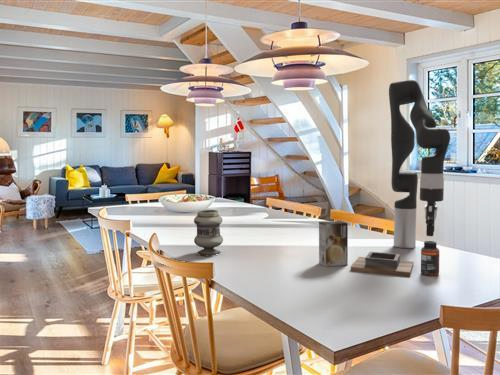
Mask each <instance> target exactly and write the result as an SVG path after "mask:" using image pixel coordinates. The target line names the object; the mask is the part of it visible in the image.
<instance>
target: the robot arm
mask: <svg viewBox="0 0 500 375" xmlns="http://www.w3.org/2000/svg"><path fill="white" fill-rule="evenodd" d="M388 98H389V100H388V101H389V109H390V144H391V145H390V146H391V158H392V159H391V164H392V165H391V189H392V191H393V192H396V193H409V194H408V195H407V196H406V197H404V198H400V199H397V200H395V202H394V206H393V207H394V215H393V218H394V220H393V221H394V222H393V247H394V248H401V249H414V248H416V245H417V244H416V240H417V209H418V208H417V206H418V205H417V199H418V197H417V196H418V184H419V200H420V201H422V202H426V203H427V204H426V205H425V206H424V218H425V225H426V232H425V235H426V236H427V237H434V232H435V224H436V223H435V221H436V220H437V213H438V206H437V202H442V201H444V188H445V183H444V182H445V179H444V162H445V158H446V155H447V151H448V147H449V146H450V142H451V134H450V131H449V130H448V129H447V128H445V127H437V122H436V119H435V118H434V117H433V115H432V114H431V112H430V110H429V108H428V106H427V103H426V100H425V97H424V94H423V92H422V89H421V86H420V84H419V82H418V81H417V80H416V79H414V78H410V79H405V80H398V81H394V82H392V83H390V84H389V87H388ZM413 103H414V104H413ZM409 104H413V106H412V108H411V110H410V113H409V119H410V122H411V124H412V125H411V124H410V123H409V122H408V121H407V120H406V119H405V117H404V116H403V114H402V112H401V108H400V106H404V105H409ZM412 126H413V127H412ZM415 135H416V136H415ZM415 137H416V139H415ZM415 141H416V144H417V146H418V147H419V148H421V149H423V150H425V149H426V150H427V149H430V150H431V149H435V150H434V151H433V153H432V154H429V155H426V156H423V157H422V158H421V160H420V161H421V166H420V170H421V171H420V178H419V176H418V173H417V172H416V171H408V170H407V171H403V170H402V171H401V168H402V165H403V164H404V163H405V161H406V160H407V159H408V157H409V156H411V154H412V152H413V151H414V148H415ZM419 179H420V180H419ZM418 182H419V183H418Z"/></svg>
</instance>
